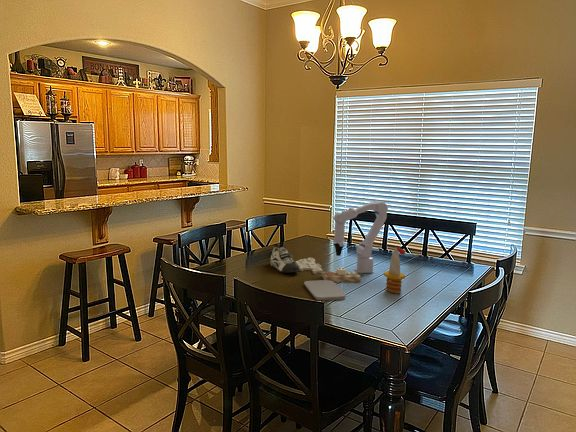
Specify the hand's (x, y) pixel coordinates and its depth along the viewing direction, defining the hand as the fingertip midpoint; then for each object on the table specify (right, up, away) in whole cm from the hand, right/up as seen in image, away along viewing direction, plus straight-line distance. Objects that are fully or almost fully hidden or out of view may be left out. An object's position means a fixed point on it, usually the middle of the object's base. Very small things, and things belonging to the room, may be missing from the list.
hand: (338, 255), depth 261 cm
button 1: (+6, -12, -11) cm, 17 cm away
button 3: (-6, -12, -12) cm, 18 cm away
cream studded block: (0, -9, -12) cm, 15 cm away
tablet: (-11, -16, -33) cm, 39 cm away
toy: (+25, -17, -30) cm, 43 cm away
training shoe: (-33, -9, +5) cm, 35 cm away
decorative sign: (-18, -9, +12) cm, 23 cm away
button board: (0, -12, -11) cm, 17 cm away
